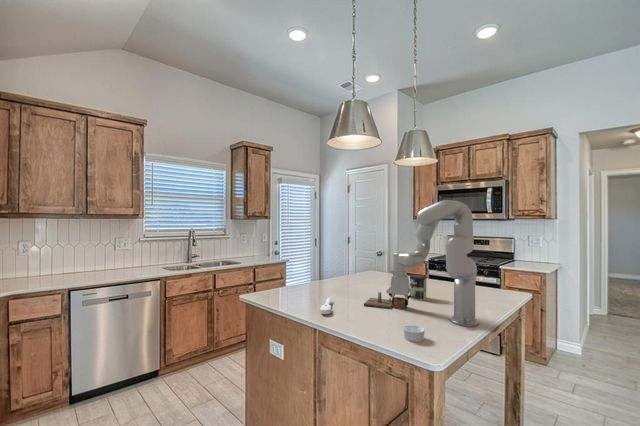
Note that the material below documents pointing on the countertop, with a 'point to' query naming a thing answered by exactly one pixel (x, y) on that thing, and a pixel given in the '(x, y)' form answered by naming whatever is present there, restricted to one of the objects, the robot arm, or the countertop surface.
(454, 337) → the countertop surface
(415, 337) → the ramekin
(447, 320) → the countertop surface
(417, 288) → the coffee can
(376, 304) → the post board
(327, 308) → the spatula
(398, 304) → the square wooden collar
